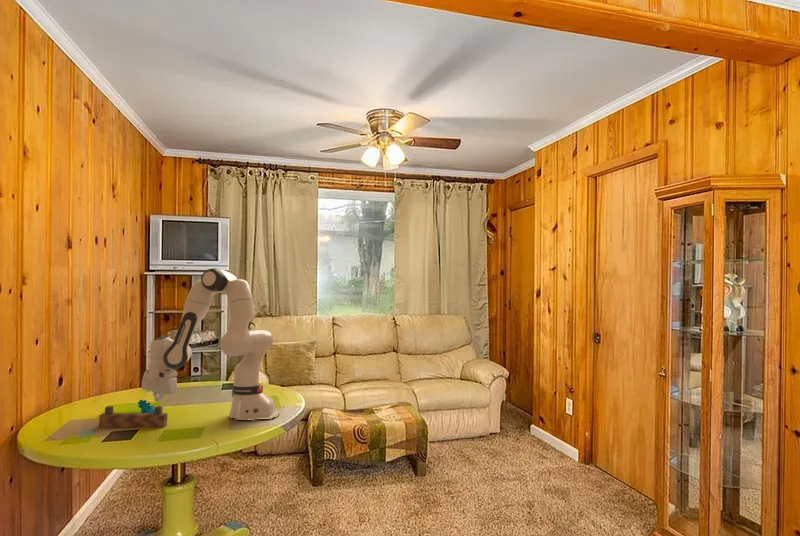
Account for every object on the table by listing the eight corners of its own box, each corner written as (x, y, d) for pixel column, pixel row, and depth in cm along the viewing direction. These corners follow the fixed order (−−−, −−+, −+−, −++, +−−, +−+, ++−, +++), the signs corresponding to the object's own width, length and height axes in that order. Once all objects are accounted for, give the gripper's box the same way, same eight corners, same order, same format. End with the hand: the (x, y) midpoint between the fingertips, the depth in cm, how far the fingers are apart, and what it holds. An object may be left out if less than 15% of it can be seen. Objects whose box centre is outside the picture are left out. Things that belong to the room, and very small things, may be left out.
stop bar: (166, 425, 197) (167, 406, 197) (163, 427, 194) (164, 408, 194) (103, 425, 195) (103, 406, 195) (98, 427, 192) (99, 408, 192)
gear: (150, 416, 202) (136, 399, 204) (140, 426, 202) (125, 409, 203) (163, 413, 213) (149, 397, 214) (153, 422, 213) (139, 406, 214)
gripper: (138, 370, 219) (137, 399, 219) (168, 374, 210) (167, 405, 210) (150, 368, 225) (149, 396, 225) (180, 372, 216) (178, 402, 216)
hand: (158, 401), depth 217 cm, fingers closed
